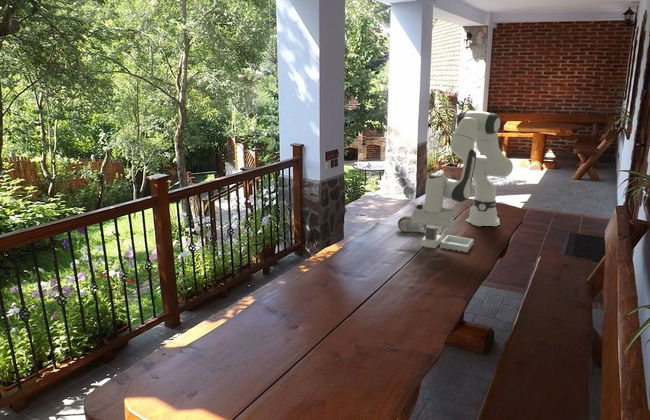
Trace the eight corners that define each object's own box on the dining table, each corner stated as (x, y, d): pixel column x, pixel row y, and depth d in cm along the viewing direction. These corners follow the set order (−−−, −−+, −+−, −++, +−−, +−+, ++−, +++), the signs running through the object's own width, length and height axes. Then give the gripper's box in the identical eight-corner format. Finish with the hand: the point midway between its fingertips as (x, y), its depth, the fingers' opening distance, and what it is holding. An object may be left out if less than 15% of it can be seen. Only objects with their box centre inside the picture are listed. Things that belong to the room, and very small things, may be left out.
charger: (427, 238, 246) (428, 225, 245) (436, 240, 244) (437, 227, 243) (425, 241, 243) (426, 228, 241) (433, 242, 241) (434, 229, 239)
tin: (425, 231, 265) (426, 216, 263) (426, 233, 262) (427, 218, 260) (397, 230, 266) (398, 215, 264) (397, 232, 263) (398, 217, 261)
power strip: (433, 234, 260) (433, 227, 259) (446, 236, 257) (447, 229, 256) (421, 245, 242) (421, 238, 241) (435, 248, 239) (435, 240, 238)
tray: (447, 240, 251) (447, 235, 250) (473, 244, 245) (473, 239, 244) (440, 247, 240) (440, 242, 239) (467, 252, 234) (467, 246, 233)
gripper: (456, 207, 237) (453, 235, 240) (415, 202, 246) (413, 228, 250) (453, 210, 231) (450, 238, 235) (411, 205, 241) (409, 231, 244)
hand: (431, 233), depth 242 cm, fingers open, 8 cm apart
